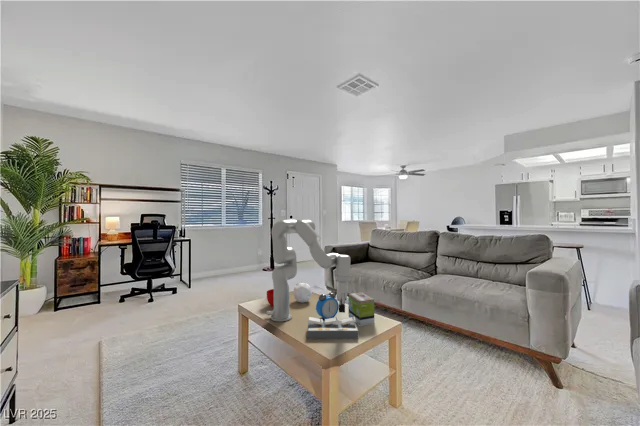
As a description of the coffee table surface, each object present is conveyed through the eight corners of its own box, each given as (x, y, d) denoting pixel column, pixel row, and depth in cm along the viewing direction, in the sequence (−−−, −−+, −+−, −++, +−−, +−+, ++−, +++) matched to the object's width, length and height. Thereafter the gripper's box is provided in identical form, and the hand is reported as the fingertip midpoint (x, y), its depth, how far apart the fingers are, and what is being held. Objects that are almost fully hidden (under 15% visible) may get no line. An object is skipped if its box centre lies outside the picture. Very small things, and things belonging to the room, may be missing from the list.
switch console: (307, 338, 141) (307, 328, 141) (308, 328, 154) (308, 319, 154) (358, 338, 141) (358, 329, 141) (355, 328, 154) (355, 319, 154)
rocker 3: (342, 325, 147) (341, 322, 147) (341, 321, 152) (341, 319, 152) (355, 321, 147) (355, 319, 147) (354, 318, 152) (354, 316, 152)
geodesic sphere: (292, 298, 189) (304, 280, 193) (284, 293, 201) (295, 276, 205) (308, 308, 194) (319, 291, 199) (299, 303, 207) (310, 286, 211)
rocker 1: (308, 322, 147) (308, 319, 147) (308, 319, 151) (309, 316, 151) (322, 324, 147) (322, 322, 147) (322, 321, 151) (322, 319, 151)
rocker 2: (325, 324, 147) (324, 322, 147) (325, 321, 151) (324, 319, 151) (339, 322, 147) (338, 319, 147) (338, 319, 152) (338, 316, 152)
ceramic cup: (277, 300, 204) (277, 286, 204) (288, 306, 190) (288, 291, 190) (260, 303, 196) (260, 289, 196) (271, 310, 183) (271, 295, 183)
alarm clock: (320, 321, 163) (320, 296, 163) (315, 318, 169) (315, 293, 169) (339, 317, 170) (339, 293, 170) (333, 314, 175) (333, 290, 175)
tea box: (347, 317, 171) (347, 293, 171) (362, 315, 174) (362, 291, 174) (359, 326, 157) (359, 300, 157) (375, 324, 160) (375, 298, 160)
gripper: (335, 274, 157) (334, 306, 157) (336, 281, 142) (335, 317, 142) (348, 275, 157) (347, 307, 157) (351, 282, 142) (350, 317, 142)
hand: (341, 311), depth 150 cm, fingers closed
